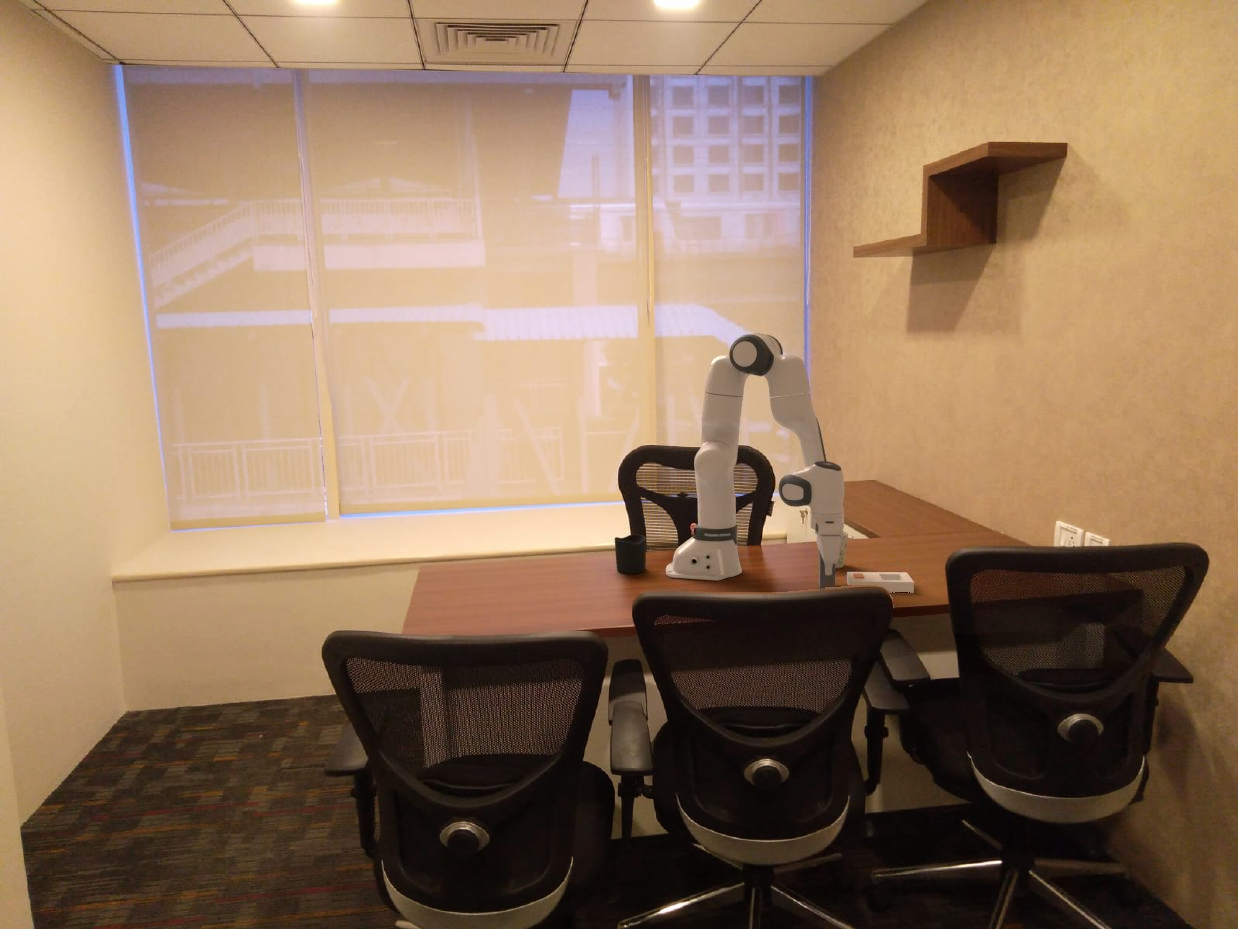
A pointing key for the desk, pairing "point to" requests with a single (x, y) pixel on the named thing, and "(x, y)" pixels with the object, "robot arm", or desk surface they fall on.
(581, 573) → the desk surface
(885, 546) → the desk surface
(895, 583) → the power strip
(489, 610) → the desk surface
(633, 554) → the pen holder
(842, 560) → the mug
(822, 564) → the plug
